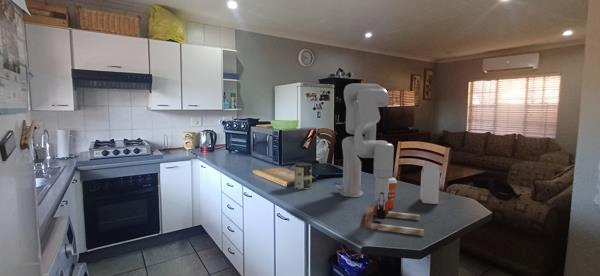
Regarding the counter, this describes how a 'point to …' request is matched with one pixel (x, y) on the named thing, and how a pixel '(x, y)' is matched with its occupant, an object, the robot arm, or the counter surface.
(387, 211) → the red apple
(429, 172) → the milk carton
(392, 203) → the paper cup
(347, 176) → the robot arm
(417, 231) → the wooden u-shaped frame
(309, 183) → the coffee can
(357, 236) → the counter surface
